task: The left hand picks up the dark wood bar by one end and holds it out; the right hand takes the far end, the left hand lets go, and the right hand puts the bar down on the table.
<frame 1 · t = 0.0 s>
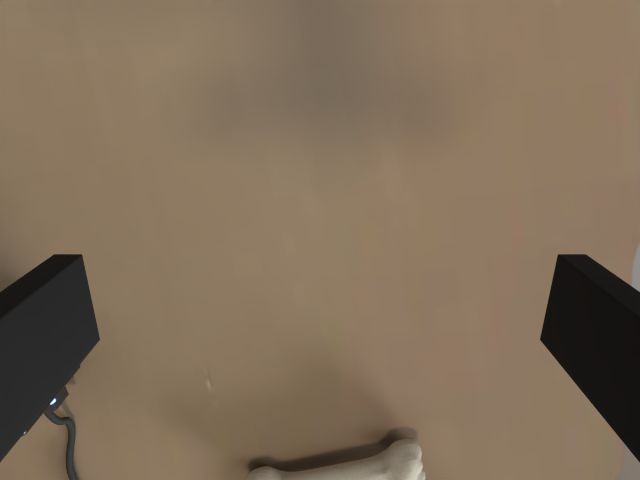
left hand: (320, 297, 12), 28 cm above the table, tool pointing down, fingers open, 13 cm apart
dog toy: (334, 460, 52), on the table
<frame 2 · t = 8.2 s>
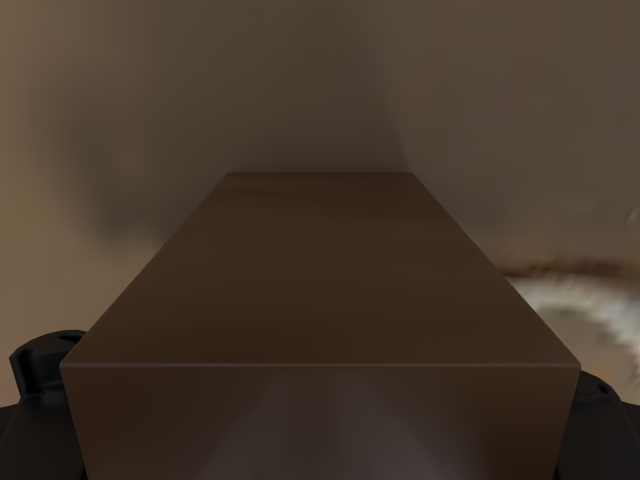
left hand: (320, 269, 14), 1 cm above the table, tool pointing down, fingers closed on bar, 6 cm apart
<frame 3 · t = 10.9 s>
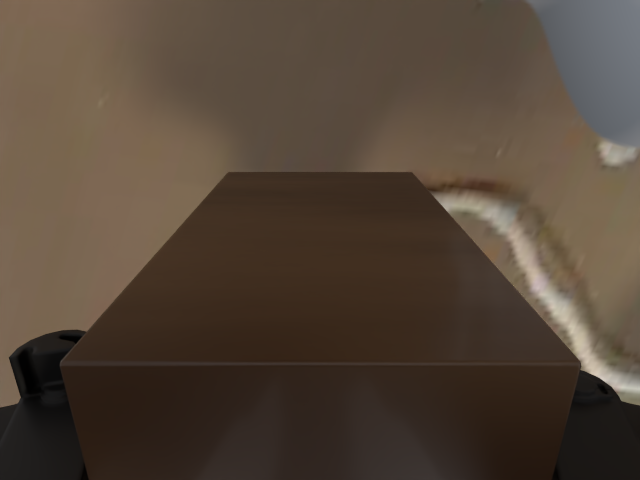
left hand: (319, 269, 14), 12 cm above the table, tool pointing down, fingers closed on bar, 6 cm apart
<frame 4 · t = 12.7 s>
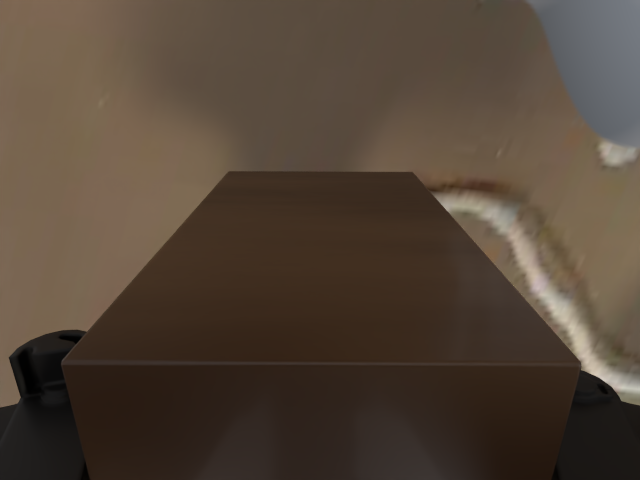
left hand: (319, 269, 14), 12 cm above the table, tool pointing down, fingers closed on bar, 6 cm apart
when the left hand's fingers open (12 cm above the table, at t = 13.7 s): bar stays where it is, held by the right hand.
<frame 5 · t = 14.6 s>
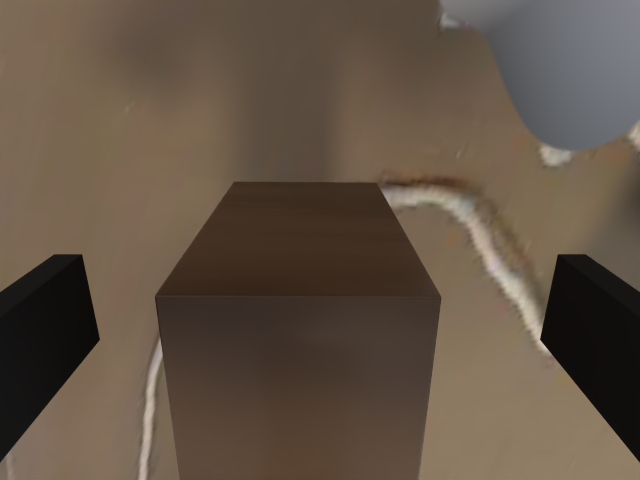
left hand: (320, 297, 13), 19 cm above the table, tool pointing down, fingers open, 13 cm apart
bar: (305, 443, 22), point 13 cm above the table, touching right hand
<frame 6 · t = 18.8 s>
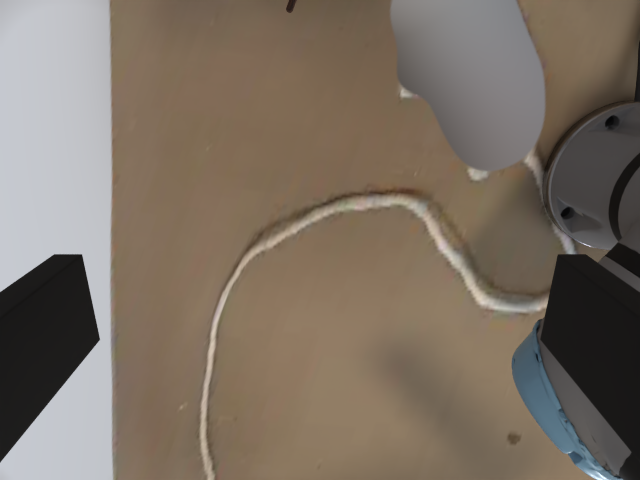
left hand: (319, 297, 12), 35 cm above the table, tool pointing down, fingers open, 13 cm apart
when the right hand's fingers open (7 cm above the table, at t = 25.2 s): bar drops 1 cm, on the table.
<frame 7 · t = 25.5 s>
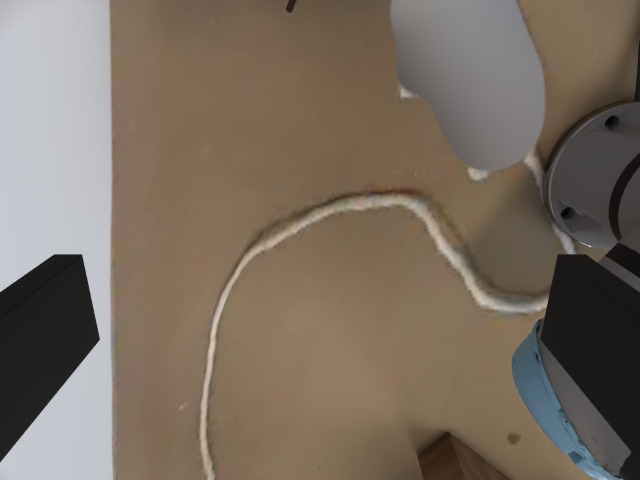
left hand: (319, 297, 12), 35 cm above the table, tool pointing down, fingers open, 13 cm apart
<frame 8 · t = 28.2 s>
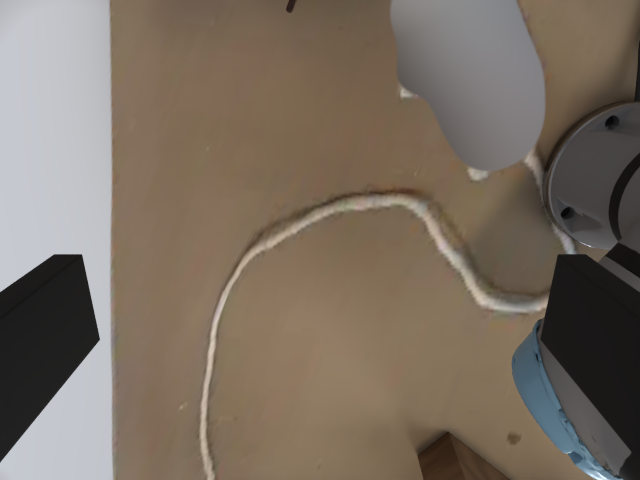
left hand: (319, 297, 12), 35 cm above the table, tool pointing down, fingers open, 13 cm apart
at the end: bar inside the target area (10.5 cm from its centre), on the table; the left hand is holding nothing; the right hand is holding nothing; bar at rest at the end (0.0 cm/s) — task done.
